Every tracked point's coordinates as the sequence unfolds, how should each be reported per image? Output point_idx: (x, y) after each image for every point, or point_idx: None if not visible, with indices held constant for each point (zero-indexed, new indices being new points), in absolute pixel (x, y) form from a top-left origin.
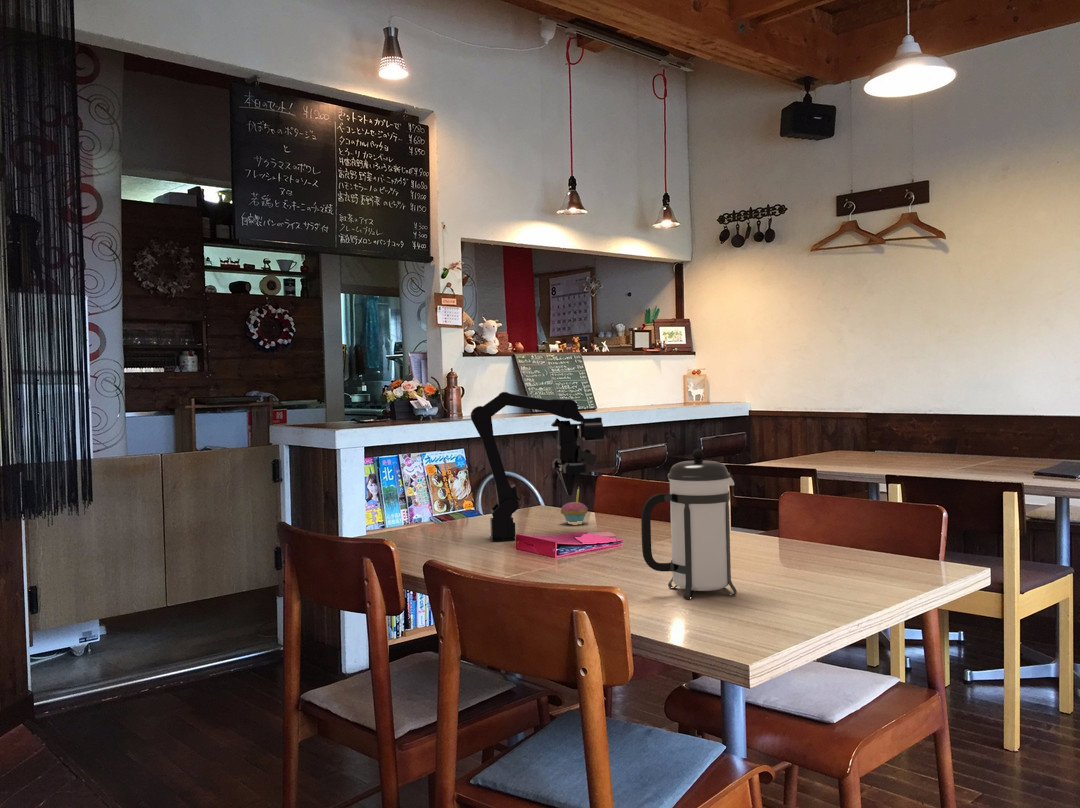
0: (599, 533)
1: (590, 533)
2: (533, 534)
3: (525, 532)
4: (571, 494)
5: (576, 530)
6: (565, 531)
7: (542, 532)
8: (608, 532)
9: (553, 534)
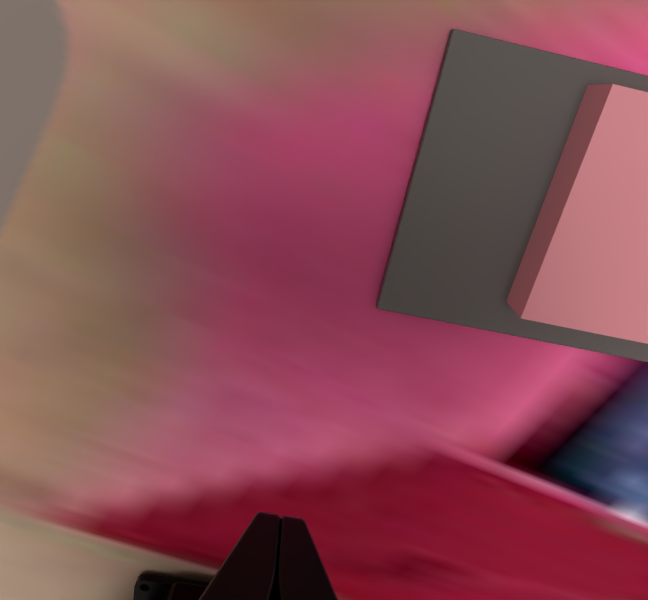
0: (626, 206)
1: (571, 266)
2: (113, 455)
3: (17, 467)
4: (306, 530)
5: (78, 141)
6: (88, 238)
7: (61, 386)
8: (646, 113)
9: (173, 358)
